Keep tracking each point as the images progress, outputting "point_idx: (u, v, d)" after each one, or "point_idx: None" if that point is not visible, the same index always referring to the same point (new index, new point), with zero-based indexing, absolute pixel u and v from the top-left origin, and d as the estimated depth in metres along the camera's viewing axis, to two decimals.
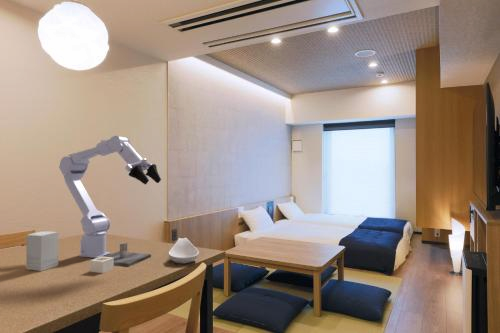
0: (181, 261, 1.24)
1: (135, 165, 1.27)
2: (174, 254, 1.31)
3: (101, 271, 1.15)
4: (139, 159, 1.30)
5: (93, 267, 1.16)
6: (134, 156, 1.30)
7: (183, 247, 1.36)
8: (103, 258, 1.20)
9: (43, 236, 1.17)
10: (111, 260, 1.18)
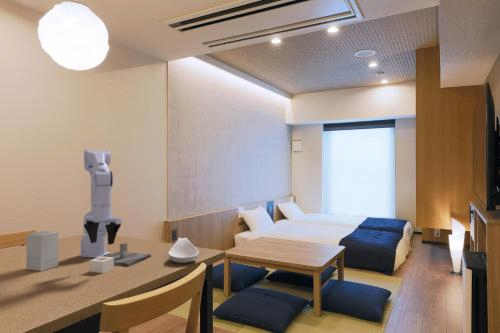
0: (181, 261, 1.25)
1: (91, 219, 1.18)
2: (174, 254, 1.31)
3: (101, 271, 1.15)
4: (94, 215, 1.16)
5: (93, 267, 1.16)
6: (93, 209, 1.16)
7: (183, 247, 1.36)
8: (103, 258, 1.20)
9: (43, 236, 1.17)
10: (111, 260, 1.18)
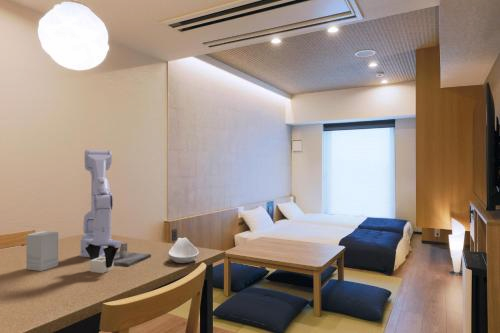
0: (181, 261, 1.25)
1: (91, 242, 1.18)
2: (174, 254, 1.32)
3: (101, 271, 1.15)
4: (94, 239, 1.16)
5: (93, 267, 1.16)
6: (93, 232, 1.16)
7: (183, 247, 1.36)
8: (103, 258, 1.20)
9: (43, 236, 1.17)
10: None
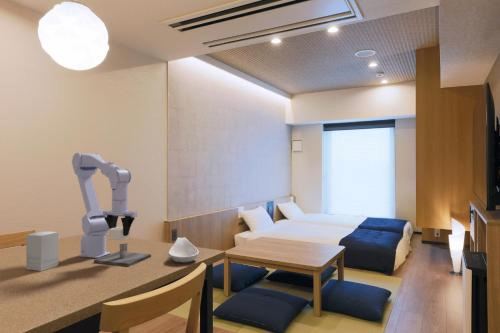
0: (182, 260, 1.25)
1: None
2: (174, 253, 1.32)
3: (119, 239, 1.26)
4: (112, 209, 1.27)
5: (111, 235, 1.27)
6: (112, 204, 1.28)
7: (182, 246, 1.36)
8: (120, 228, 1.31)
9: (43, 236, 1.17)
10: None
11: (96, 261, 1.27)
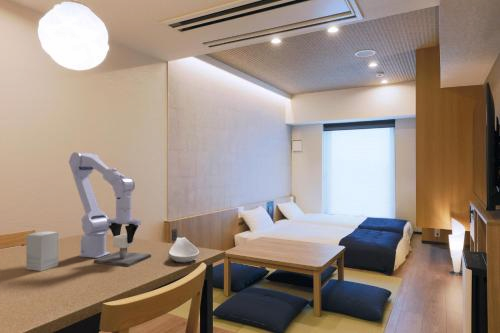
0: (182, 260, 1.26)
1: None
2: (174, 253, 1.32)
3: (123, 246, 1.28)
4: (117, 217, 1.30)
5: (116, 243, 1.29)
6: (116, 212, 1.30)
7: (182, 246, 1.37)
8: (124, 235, 1.34)
9: (43, 236, 1.17)
10: None
11: (96, 261, 1.27)
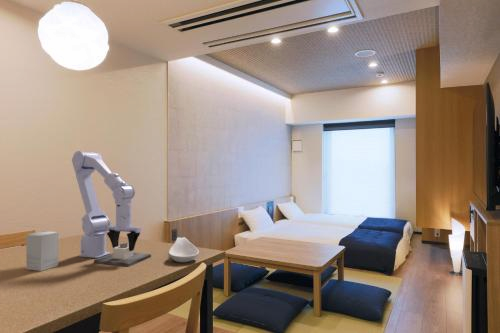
0: (182, 260, 1.26)
1: (114, 228, 1.32)
2: (174, 253, 1.32)
3: (123, 257, 1.28)
4: (116, 225, 1.30)
5: (115, 254, 1.29)
6: (116, 219, 1.30)
7: (182, 246, 1.37)
8: None
9: (43, 236, 1.17)
10: None
11: (96, 261, 1.27)
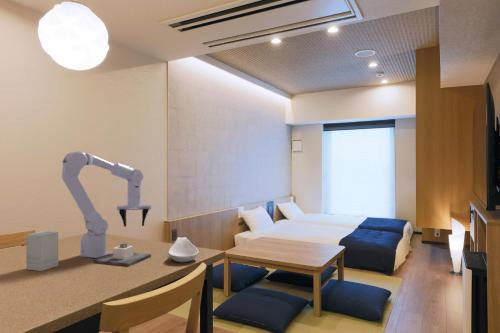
0: (181, 260, 1.26)
1: (125, 207, 1.47)
2: (174, 253, 1.33)
3: (123, 257, 1.28)
4: (130, 204, 1.46)
5: (115, 254, 1.29)
6: (129, 199, 1.47)
7: (182, 246, 1.37)
8: None
9: (43, 236, 1.17)
10: (131, 248, 1.32)
11: (96, 261, 1.27)
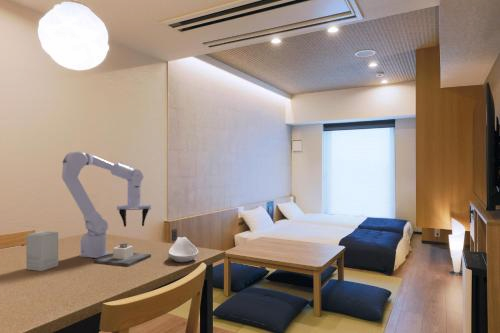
0: (181, 260, 1.26)
1: (125, 207, 1.47)
2: (174, 253, 1.33)
3: (123, 257, 1.28)
4: (130, 204, 1.46)
5: (115, 254, 1.29)
6: (129, 199, 1.47)
7: (182, 246, 1.37)
8: None
9: (43, 236, 1.17)
10: (131, 248, 1.32)
11: (96, 261, 1.27)
